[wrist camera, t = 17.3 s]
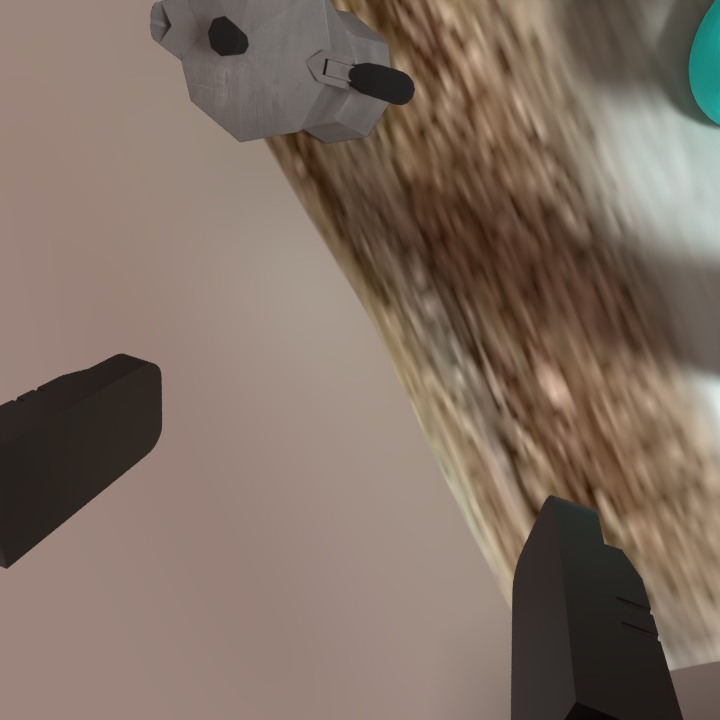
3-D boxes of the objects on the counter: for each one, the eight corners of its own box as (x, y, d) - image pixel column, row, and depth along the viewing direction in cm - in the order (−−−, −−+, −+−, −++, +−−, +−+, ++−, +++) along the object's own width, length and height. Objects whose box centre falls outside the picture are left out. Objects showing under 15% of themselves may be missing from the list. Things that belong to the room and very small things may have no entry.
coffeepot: (258, 123, 41) (102, 108, 26) (275, -7, 37) (101, -123, 21) (426, 173, 39) (368, 189, 23) (464, 40, 35) (427, -50, 19)
